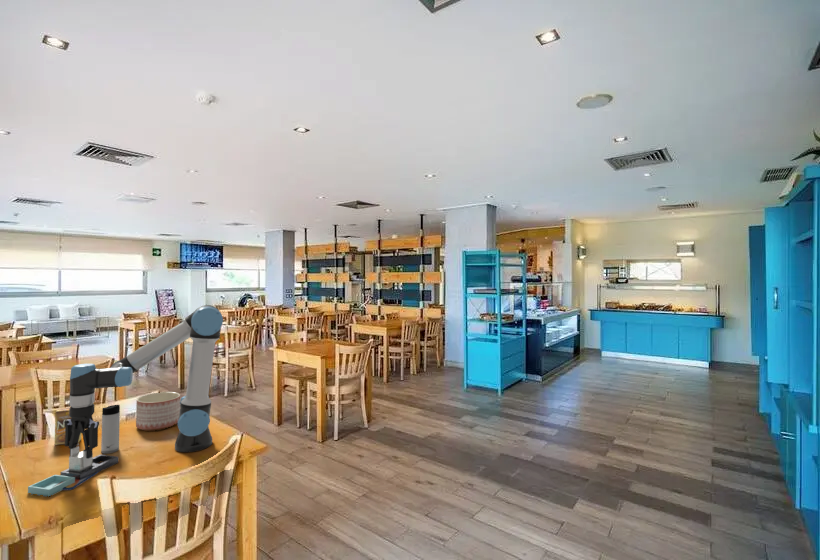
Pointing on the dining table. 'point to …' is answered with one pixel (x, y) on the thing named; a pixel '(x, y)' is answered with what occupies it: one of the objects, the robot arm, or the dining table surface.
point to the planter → (157, 411)
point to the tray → (51, 485)
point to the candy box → (61, 425)
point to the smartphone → (77, 482)
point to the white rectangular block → (78, 463)
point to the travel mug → (110, 429)
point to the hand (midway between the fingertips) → (80, 465)
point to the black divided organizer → (93, 466)
